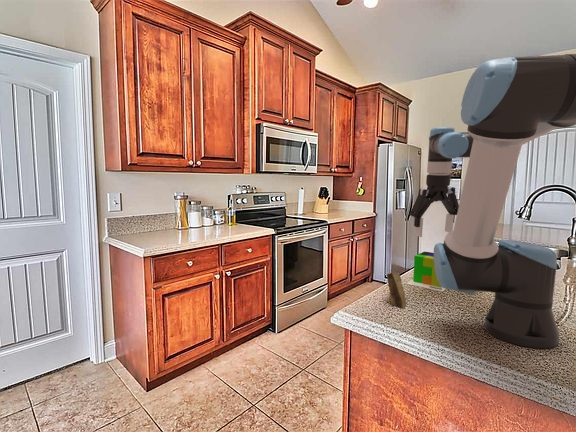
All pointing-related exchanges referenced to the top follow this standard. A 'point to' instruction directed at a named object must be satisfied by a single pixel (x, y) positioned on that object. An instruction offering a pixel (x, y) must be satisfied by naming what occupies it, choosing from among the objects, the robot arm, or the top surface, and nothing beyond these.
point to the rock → (396, 290)
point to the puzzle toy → (425, 269)
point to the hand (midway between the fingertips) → (433, 234)
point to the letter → (425, 286)
